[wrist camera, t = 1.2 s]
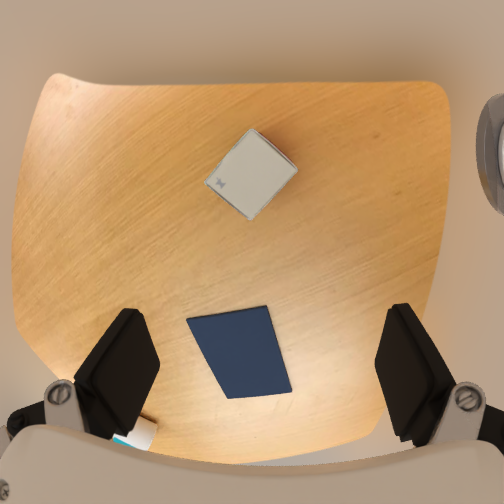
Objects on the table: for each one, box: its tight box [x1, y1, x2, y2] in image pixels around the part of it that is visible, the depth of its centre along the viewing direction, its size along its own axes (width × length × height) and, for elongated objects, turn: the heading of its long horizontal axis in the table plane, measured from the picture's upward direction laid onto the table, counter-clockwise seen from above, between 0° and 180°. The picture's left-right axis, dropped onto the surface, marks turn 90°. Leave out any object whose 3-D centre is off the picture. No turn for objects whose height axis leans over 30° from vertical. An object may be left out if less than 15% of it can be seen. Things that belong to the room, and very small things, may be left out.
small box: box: [204, 129, 298, 220], centre depth 21 cm, size 5×4×8 cm
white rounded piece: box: [113, 416, 157, 451], centre depth 42 cm, size 12×9×12 cm
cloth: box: [186, 306, 292, 399], centre depth 34 cm, size 10×16×1 cm, turn 15°
